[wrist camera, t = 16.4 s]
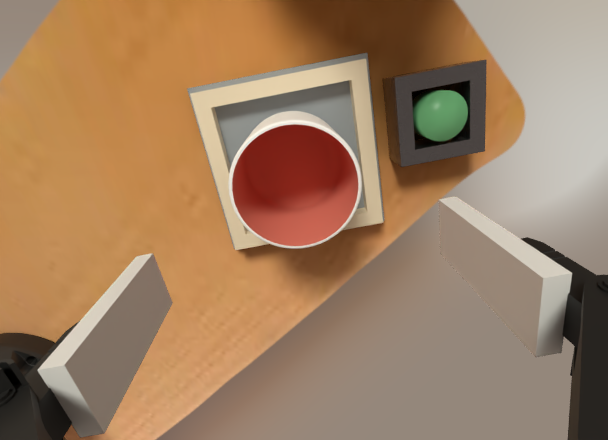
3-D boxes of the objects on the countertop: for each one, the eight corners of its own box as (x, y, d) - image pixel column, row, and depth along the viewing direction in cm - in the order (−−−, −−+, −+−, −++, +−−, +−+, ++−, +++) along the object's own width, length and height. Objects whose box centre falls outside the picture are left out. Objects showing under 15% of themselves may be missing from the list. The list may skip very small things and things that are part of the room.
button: (409, 140, 34) (420, 145, 31) (406, 94, 33) (418, 95, 30) (452, 131, 34) (467, 136, 31) (451, 85, 32) (467, 85, 30)
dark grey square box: (389, 158, 36) (401, 167, 32) (382, 78, 33) (394, 77, 29) (464, 144, 36) (484, 151, 32) (463, 62, 33) (486, 59, 29)
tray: (235, 244, 39) (232, 255, 36) (190, 88, 33) (182, 88, 30) (381, 216, 39) (388, 226, 36) (364, 53, 32) (370, 51, 30)
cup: (340, 105, 33) (361, 113, 23) (344, 203, 36) (363, 243, 27) (236, 114, 33) (216, 126, 23) (251, 211, 36) (239, 255, 27)
